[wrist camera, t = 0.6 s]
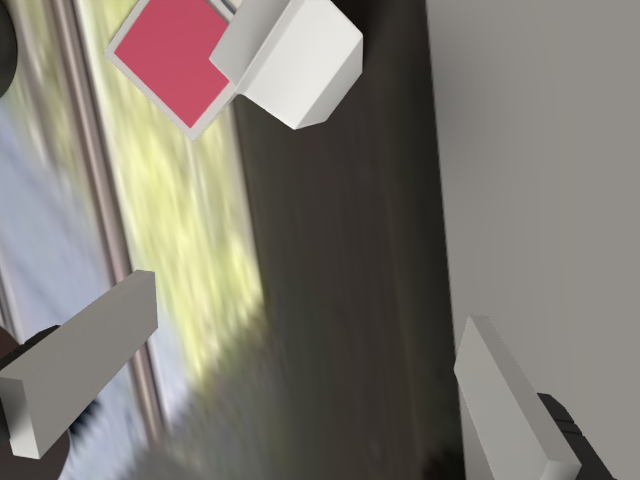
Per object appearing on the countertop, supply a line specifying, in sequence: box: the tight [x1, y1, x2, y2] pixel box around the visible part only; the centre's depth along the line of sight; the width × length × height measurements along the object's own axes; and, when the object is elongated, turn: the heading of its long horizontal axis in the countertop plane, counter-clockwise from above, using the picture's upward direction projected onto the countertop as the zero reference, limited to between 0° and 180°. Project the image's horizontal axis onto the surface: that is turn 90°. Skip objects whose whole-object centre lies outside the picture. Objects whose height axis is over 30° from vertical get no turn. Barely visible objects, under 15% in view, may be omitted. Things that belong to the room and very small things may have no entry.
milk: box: [209, 0, 363, 129], centre depth 27 cm, size 6×6×22 cm
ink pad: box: [103, 0, 238, 142], centre depth 37 cm, size 12×12×2 cm
